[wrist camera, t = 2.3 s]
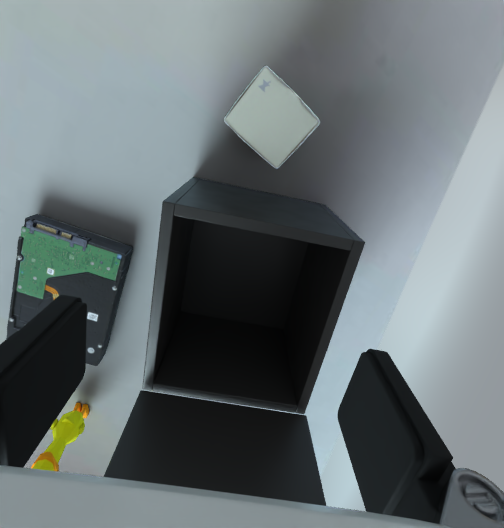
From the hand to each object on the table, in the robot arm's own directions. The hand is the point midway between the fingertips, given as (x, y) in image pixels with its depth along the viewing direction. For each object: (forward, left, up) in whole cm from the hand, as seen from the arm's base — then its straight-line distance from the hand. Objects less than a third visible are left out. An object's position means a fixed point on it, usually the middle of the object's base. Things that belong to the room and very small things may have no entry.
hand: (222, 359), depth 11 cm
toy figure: (+31, -15, -24) cm, 42 cm away
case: (+6, +2, -24) cm, 25 cm away
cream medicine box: (-8, +1, -24) cm, 26 cm away
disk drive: (+13, -16, -24) cm, 32 cm away
